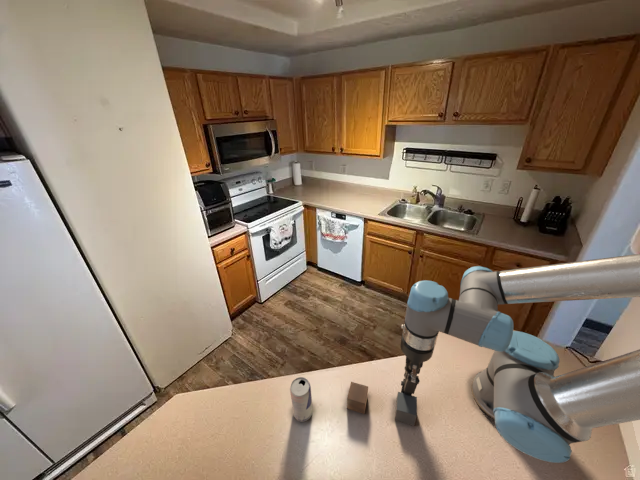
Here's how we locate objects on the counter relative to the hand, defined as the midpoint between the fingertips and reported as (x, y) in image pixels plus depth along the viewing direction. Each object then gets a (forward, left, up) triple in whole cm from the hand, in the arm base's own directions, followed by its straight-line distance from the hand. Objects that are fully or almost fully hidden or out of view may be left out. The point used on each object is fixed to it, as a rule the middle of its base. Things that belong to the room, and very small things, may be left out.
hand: (405, 396), depth 73 cm
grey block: (0, +4, -2) cm, 4 cm away
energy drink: (+27, +12, -2) cm, 29 cm away
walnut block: (+13, +5, -2) cm, 14 cm away
